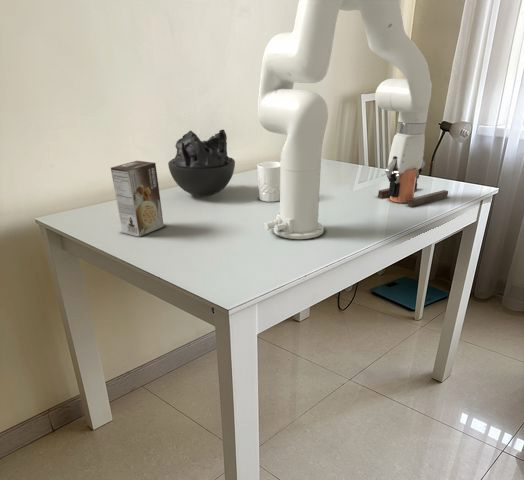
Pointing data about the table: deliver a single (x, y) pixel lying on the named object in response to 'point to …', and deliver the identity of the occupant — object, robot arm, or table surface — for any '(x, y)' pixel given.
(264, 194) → the white cup
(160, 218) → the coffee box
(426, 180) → the table surface
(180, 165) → the bowl of black rocks
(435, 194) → the guide rails
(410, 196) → the peach cup
